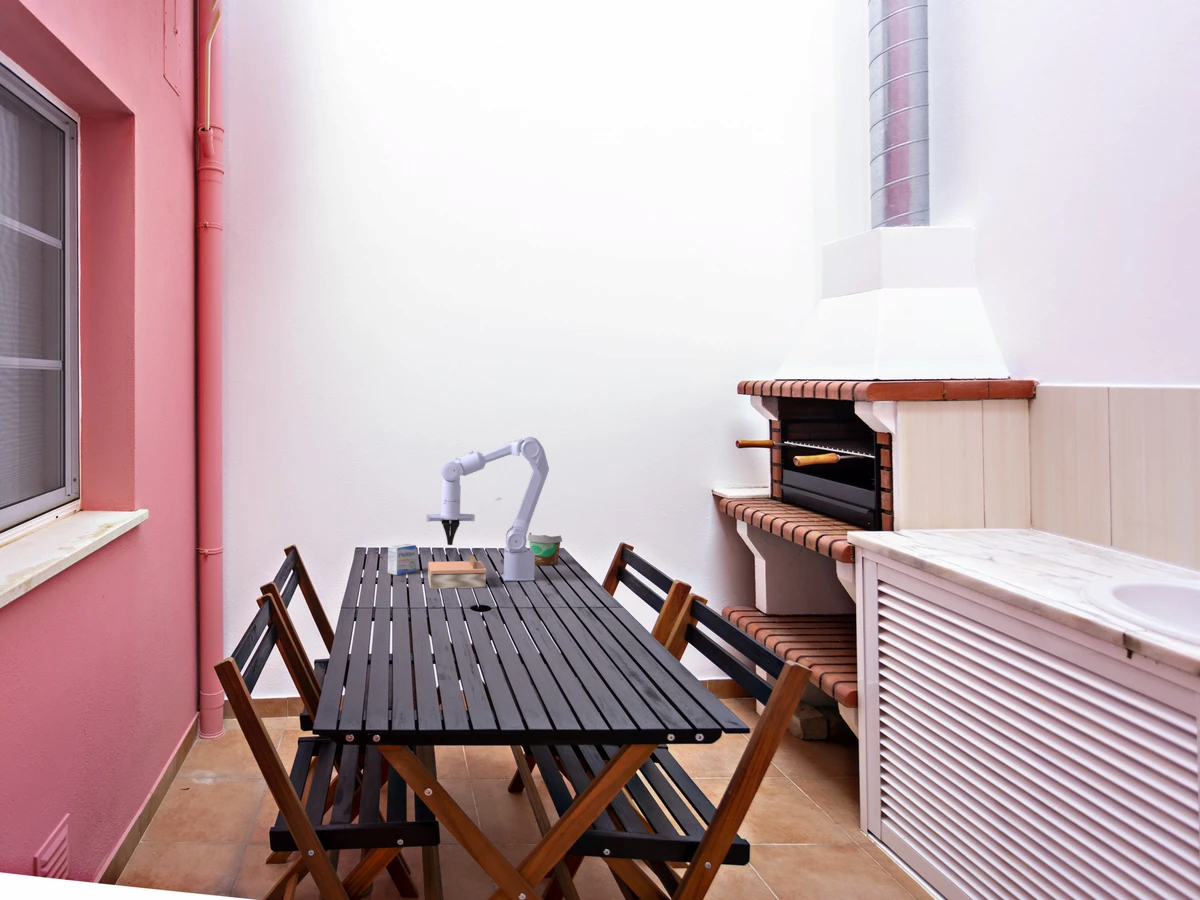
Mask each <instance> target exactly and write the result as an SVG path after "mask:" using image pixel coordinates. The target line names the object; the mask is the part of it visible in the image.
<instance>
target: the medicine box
mask: <svg viewBox="0 0 1200 900" xmlns="http://www.w3.org/2000/svg"><path fill="white" fill-rule="evenodd" d="M416 570H417V545H416V544H412V543H404V544H398V545H397V544H396V545H390V546H388V547H387V574H390V575H392V576H401V575H406V574H407V575H408V574H413V573H415V572H417V571H416Z"/></svg>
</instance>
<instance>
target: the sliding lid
mask: <svg viewBox="0 0 1200 900" xmlns="http://www.w3.org/2000/svg"><path fill="white" fill-rule="evenodd" d="M428 566H429V569H430V573H431V574H464V573H486V574H487V568H486V567H485V565H484V564H483V562H482V560H477V558H476V557H475V555H469V560H465V561H464V560H462V561H459V560H458V561H428ZM428 566H427V567H428Z"/></svg>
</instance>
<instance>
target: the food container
mask: <svg viewBox="0 0 1200 900" xmlns="http://www.w3.org/2000/svg"><path fill="white" fill-rule="evenodd" d="M527 541H529V550H533V551H534V555H535V566H541V567H549V566H551V567H552V566H557V565H558V561H559V556H560V555H559V554H560V547H561V542H563V538H562V535H555V536H554V535H553V536H550V535H546V534H545V535H543V534H542V535H535V534H532V532H529V534H528V535H527Z"/></svg>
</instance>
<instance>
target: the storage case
mask: <svg viewBox="0 0 1200 900" xmlns="http://www.w3.org/2000/svg"><path fill="white" fill-rule="evenodd" d="M486 577H487V572H486V573H464V574H431V573H430V569H429V566H427V580H428V584H429V588H430V589H431V590H435V589H439V590H440V589H475V588H486V586H487V583H486V582H487V580H486V579H487V578H486Z"/></svg>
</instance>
